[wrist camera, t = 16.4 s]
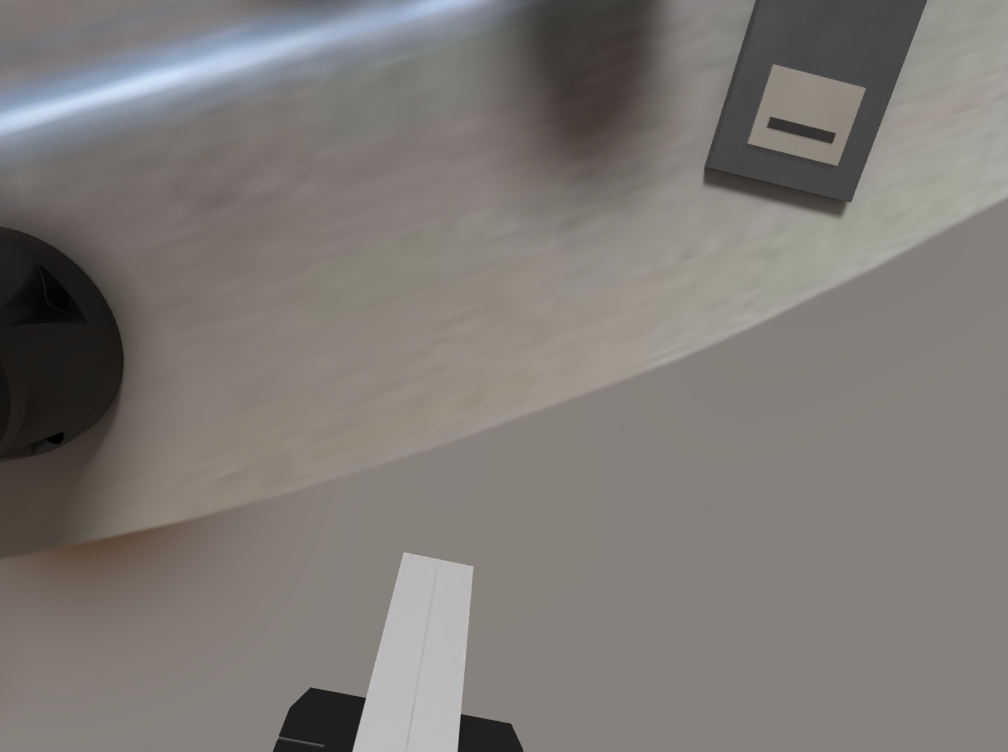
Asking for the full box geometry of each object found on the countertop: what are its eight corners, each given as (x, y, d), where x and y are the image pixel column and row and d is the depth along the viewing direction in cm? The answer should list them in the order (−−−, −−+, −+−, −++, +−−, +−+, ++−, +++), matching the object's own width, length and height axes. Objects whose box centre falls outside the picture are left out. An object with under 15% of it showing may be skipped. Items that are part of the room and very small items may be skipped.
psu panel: (704, 166, 43) (710, 167, 42) (810, -176, 38) (821, -188, 36) (843, 201, 44) (853, 203, 43) (967, -132, 38) (984, -142, 37)
